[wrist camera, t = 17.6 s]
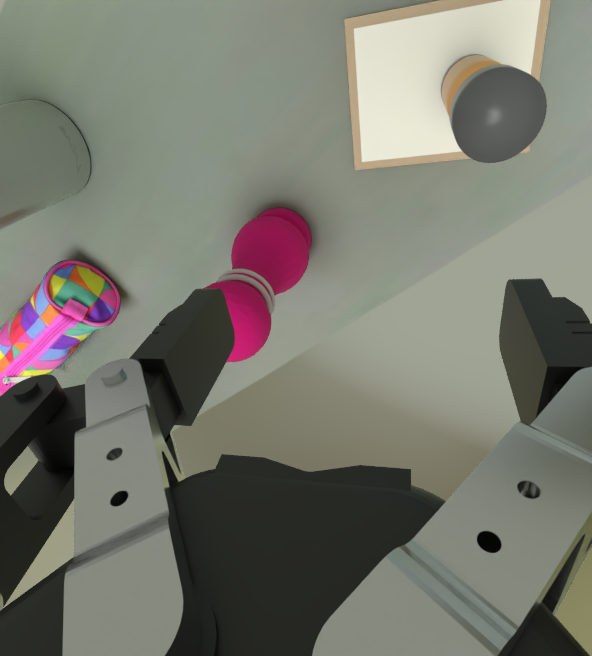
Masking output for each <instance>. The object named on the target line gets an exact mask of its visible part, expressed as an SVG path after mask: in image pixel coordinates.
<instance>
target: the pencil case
mask: <svg viewBox="0 0 592 656" xmlns="http://www.w3.org/2000/svg"><path fill="white" fill-rule="evenodd" d="M119 309H120V296H119V293H118V290H117V289H116V287H115V285H114V284H113V283H112V282H111V281H110V279H109V278H108V277H106V276H105V275H104V274H103V273H102V272H101V271H99V270H98V269H97V268H95V267H93V266H91V265H89V264H86V263H83V262H80V261H75V260H64V261H61V262H58V263H57V264H55V265H54V266H52V267H51V268H50V269H49V270H48V272H47V273H46V274H45V276H44V278H43V280H42V281H41V283H40V284H39V286H38V287H37V289H36V291H35V292H34V294H33V295H32V297H31V298H30V299H29V301H28V302H27V303H26V304H25V305H24V306H23V307H22V308H21V309H19V310H18V311H16V312H15V314H14V315H13V316H12V317H11V318H10V319H9V320H8V321H7V322H6V323H5V324H4V325H3V326H2V327H1V328H0V395H3V394H4V393H5V392H6V391H7V390H8V389H9V388H10V387H12V386H14V385H15V384H17V383H19V382H21V381H23V380H25V379H27V378H30V377H33V376H36V375H43V374H49V375H50V374H51V373H52V372H53V371H54V370H55V369H56V368H58V367H59V366H60V365H61V364H62V363H64V362H65V361H66V360H67V359H68V358H69V357H70V356H71V354H72V353H73V352H74V351H75V349H76V348H77V346H78V345H79V343H80V342H81V341H82V340H84V339H85V338H87V337H88V336H90V335H91V334H92V333H93V332H94V331H95V330H96V329H102V328H105V327H107V326H109V325H110V324H111V323H113V321H114V320H115V319H116V317H117V315H118V313H119Z"/></svg>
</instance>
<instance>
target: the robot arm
mask: <svg viewBox="0 0 592 656" xmlns="http://www.w3.org/2000/svg"><path fill="white" fill-rule="evenodd" d="M90 167H91V164H90V157H89V153H88V149H87V146H86V144H85V142H84V139H83V137H82V135H81V134H80V132H79V131H78V129H77V128H76V126H75V125H74V124H73V123H72V122H71V120H70V119H69V118H68V117H67V116H66V115H65V114H63V113H62V112H61V111H60V110H58V109H57V108H55V107H54V106H52V105H50V104H48V103H45V102H42V101H40V100H24V101H18V102H12V103H6V104H0V229H2V228H4V227H7V226H9V225H11V224H13V223H15V222H17V221H19V220H21V219H23V218H25V217H27V216H29V215H31V214H33V213H36V212H38V211H40V210H42V209H44V208H46V207H48V206H50V205H52V204H54V203H56V202H59V201H61V200H63V199H65V198H67V197H69V196H71V195H73V194H75V193H77V192H79V191H80V190H81V189H83V188H84V186H85V185H86V183H87V182H88V179H89V176H90ZM499 343H500V351H501V355H502V359H503V362H504V365H505V368H506V372H507V376H508V379H509V382H510V385H511V389H512V393H513V396H514V399H515V403H516V406H517V410H518V413H519V416H520V420H521V422H518V423H516V424H515V425H514V426H513V427H512V428H511V429H510V430H509V432H508V433H507V434H506V435H505V436H504V437H503V438H502V439H501V440H500V442H499V443H498V444H497V445H496V446H495V447H494V448H493V449H492V451H491V452H490V453H489V454H488V455H487V456H486V457H485V458H484V460H483V461H482V462H481V463H480V464H479V465H478V466H477V467H476V469H475V470H474V471H473V472H472V473H471V474H470V475H469V476H468V477H467V479H466V480H465V481H464V482H463V483H462V484H461V485H460V486H459V488H458V489H457V490H456V491H455V492H454V493H453V494H452V495H451V497H450V498H449V499H448V500H447V501H445V500H443V499H441V498H440V497H438V496H436V495H434V494H432V493H430V492H428V491H426V490H424V489H421V488H418V487H415V486H412V485H411V469H400V468H387V467H375V466H362V465H359V466H351V467H345V468H337V469H330V470H323V471H315V472H306V471H302V470H299V469H296V468H293V467H290V466H287V465H284V464H281V463H278V462H275V461H272V460H269V459H267V458H262V457H261V458H260V457H249V456H235V455H223V454H222V455H221V457H220V459H219V462H218V464H217V466H216V469H213V470H208V471H204V472H200V473H198V474H195V475H192V476H190V477H188V478H185V477H184V474H183V470H182V466H181V463H180V459H179V455H178V452H177V449H176V445H175V441H174V438H173V436H172V434H171V429H172V428H173V426H174V425H184V426H191V425H192V423H193V422H194V420H195V418H196V416H197V414H198V412H199V411H200V409H201V407H202V405H203V403H204V401H205V400H206V398H207V396H208V394H209V392H210V391H211V389H212V387H213V385H214V383H215V381H216V380H217V378H218V376H219V374H220V372H221V370H222V369H223V367H224V365H225V363H226V361H227V360H228V358H229V356H230V354H231V352H232V350H233V348H234V344H235V332H234V328H233V324H232V320H231V317H230V313H229V310H228V306H227V303H226V299H225V296H224V293H223V291H222V290H221V289H219V288H211V289H196V290H194V291H193V292H192V294H191V295H190V296H189V297H188V299H187V300H186V301H185V302H184V303H183V305H180V306H178V307H177V308H175V309H174V310H172V311H171V312H170V313H168V314H167V315H166V316H165V317H164V319H163V320H162V321H161V322H160V323H159V326H157V327H156V328H155V329H154V330H153V332H152V334H150V335H149V336H148V337H147V339H146V340H145V341H144V342H143V343H142V344H141V346H140V347H139V348H138V349H137V350H136V352H135V353H134V354H133V355H132V356H131V357H130V359H120V360H116V361H112V362H110V363H107V364H105V365H103V366H101V367H100V368H98V369H97V370H95V371H94V372H93V373H92V374H91V375H90V376H89V377H88V379H87V380H86V383H85V384H83V385H78V386H74V387H69V388H64V389H62V388H61V386H60V384H59V383H58V381H57V379H56V378H55V377H54V376H52V375H49V374H43V375H36V376H33V377H30V378H27V379H25V380H23V381H21V382H19V383H17V384H15V385H14V386H12V387H11V388H9V389H8V390H7V391H6V392H5V393H4V394H3V395H2V396H1V397H0V656H590V655H589V654H588V653H587V652H586V651H585V650H584V649H583V648H582V646H581V645H580V644H579V643H578V642H577V641H576V640H575V639H574V637H573V636H572V635H571V634H570V633H569V632H568V631H567V629H566V628H565V627H564V626H563V625H562V624H561V623H560V621H559V620H558V619H557V618H556V617H555V614H556V612H557V610H558V609H559V607H560V605H561V603H562V602H563V600H564V598H565V596H566V594H567V592H568V590H569V589H570V587H571V585H572V583H573V580H574V579H575V577H576V574H577V573H578V571H579V569H580V567H581V565H582V564H583V562H584V560H585V558H586V557H587V555H588V553H589V551H590V550H591V548H592V324H590V321H589V319H588V317H587V316H586V314H585V313H584V311H583V309H582V308H581V307H579V306H578V305H576V304H575V303H573V302H571V301H570V300H568V299H567V298H565V297H553V298H552V296H551V294H550V292H549V290H548V289H547V287H546V285H545V283H544V282H543V280H542V279H516V280H515V279H513V280H508V282H507V285H506V289H505V296H504V303H503V311H502V318H501V325H500V334H499ZM27 446H28V447H29V448H30V449H31V451H32V452H33V453H34V455H35V456H36V458H37V459H38V460H39V461H38V462H37V464H36V465H35V466H34V468H33V469H32V470H31V471H30V472H29V474H28V475H27V476H26V477H25V479H24V480H23V481H22V482H21V484H20V485H19V486H18V487H17V489H16V490H15V491H14V493H13V494H12V495H11V496H10V494H9V493H8V492H7V491H6V489H5V486H4V478H5V474H6V472H7V470H8V468H9V467H10V466H11V465H12V463H13V462H14V461H15V460H16V459H17V458H18V456H19V455H20V454H21V453H22V452H23V451H24V449H25V448H26V447H27ZM73 499H74V557H73V558H72V559H70V560H69V561H68V562H66V563H65V564H64V565H62V566H61V567H59V568H58V569H57V570H55V571H54V572H53V573H51V574H50V575H49V576H47V577H46V578H44V579H43V580H42V581H40V582H39V583H38V584H36V585H35V586H33V587H32V588H31V589H29V590H28V591H27V592H25V593H24V594H23V595H21V596H20V597H18V598H17V599H16V600H14V601H13V602H11V603H10V604H9V605H7V606H6V607H5V608H3V607H4V605H5V604H6V602H7V600H8V599H9V598H10V596H11V595H12V593H13V592H14V590H15V588H16V587H17V585H18V584H19V582H20V581H21V579H22V578H23V576H24V575H25V573H26V572H27V570H28V569H29V567H30V565H31V564H32V562H33V561H34V559H35V558H36V556H37V555H38V553H39V552H40V550H41V549H42V547H43V545H44V544H45V542H46V541H47V539H48V538H49V536H50V535H51V533H52V531H53V530H54V529H55V527H56V526H57V524H58V522H59V521H60V519H61V518H62V516H63V515H64V513H65V512H66V510H67V509H68V507H69V506H70V504H71V503H72V501H73Z"/></svg>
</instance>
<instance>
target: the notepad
mask: <svg viewBox="0 0 592 656" xmlns="http://www.w3.org/2000/svg"><path fill="white" fill-rule="evenodd" d="M550 3H551V0H439V1H434V2H429V3H424V4H418V5H413V6H408V7H403V8H398V9H393V10H388V11H383V12H378V13H373V14H368V15H363V16H358V17H352V18H347V19H344V25H345V39H346V53H347V67H348V81H349V95H350V109H351V123H352V137H353V151H354V165H355V170H362V169H372V168H382V167H392V166H401V165H411V164H421V163H431V162H440V161H450V160H460V159H470V157H468V156H467V155H466V154H464V152H463V151H462V150H461V149H460V148H459V146H458V144H457V142H456V140H455V137H454V134H453V132H452V129H451V125H450V120H449V116H448V113H447V111H446V108H445V106H444V103H443V100H442V97H441V83H442V79H443V77H444V74H445V73H446V71H447V69H448V68H449V67H450V66H451V65H452V63H454V62H455V61H456V60H457V59H459V58H461V57H463V56H465V55H469V54H481V55H484V56H486V57H488V58H490V59H492V60H494V61H497V62H499V63H501V64H505V65H510V66H513V67H515V68H518V69H520V70H522V71H524V72H527V73H528V74H530V75H532V76H533V77H534V78H536V79H537V81H538V82H539V79H540V72H541V65H542V58H543V51H544V44H545V37H546V30H547V23H548V16H549V9H550ZM529 148H530V144H529V146H528V147H526V148H525V149H524V150H523V151H522V152H520V153H528V152H529Z"/></svg>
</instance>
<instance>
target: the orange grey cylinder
mask: <svg viewBox="0 0 592 656" xmlns="http://www.w3.org/2000/svg"><path fill="white" fill-rule="evenodd" d="M441 97H442V100H443V103H444V106H445V108H446V111H447V113H448V116H449V120H450V125H451V129H452V132H453V134H454V137H455V140H456V142H457V144H458V146H459V148H460V149H461V150H462V151H463V152H464V154H466V155H467V156H468V157H470V158H472V159H474V160H476V161H479V162H485V163H495V162H500V161H504V160H507V159H509V158H512V157H514V156H515V155H517V154H519V153H520V152H522V151H523V150H524V149H525V148H526V147H528V146H529V144H530V143H531V142H532V141H533V140H534V139H535V137H536V136H537V134H538V133H539V131H540V129H541V127H542V125H543V122H544V119H545V115H546V107H547V104H546V96H545V93H544V90H543V88H542V86H541V84H540V83H539V82H538V81H537V79H536V78H534V77H533V76H532V75H530V74H528V73H527V72H524V71H522V70H520V69H518V68H515V67H513V66H510V65H505V64H501V63H499V62H497V61H494V60H492V59H490V58H488V57H486V56H484V55H481V54H469V55H465V56H463V57H461V58H459V59H457V60H456V61H455V62H454V63H452V65H451V66H450V67H449V68H448V69H447V71H446V73H445V74H444V77H443V79H442V83H441Z"/></svg>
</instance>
